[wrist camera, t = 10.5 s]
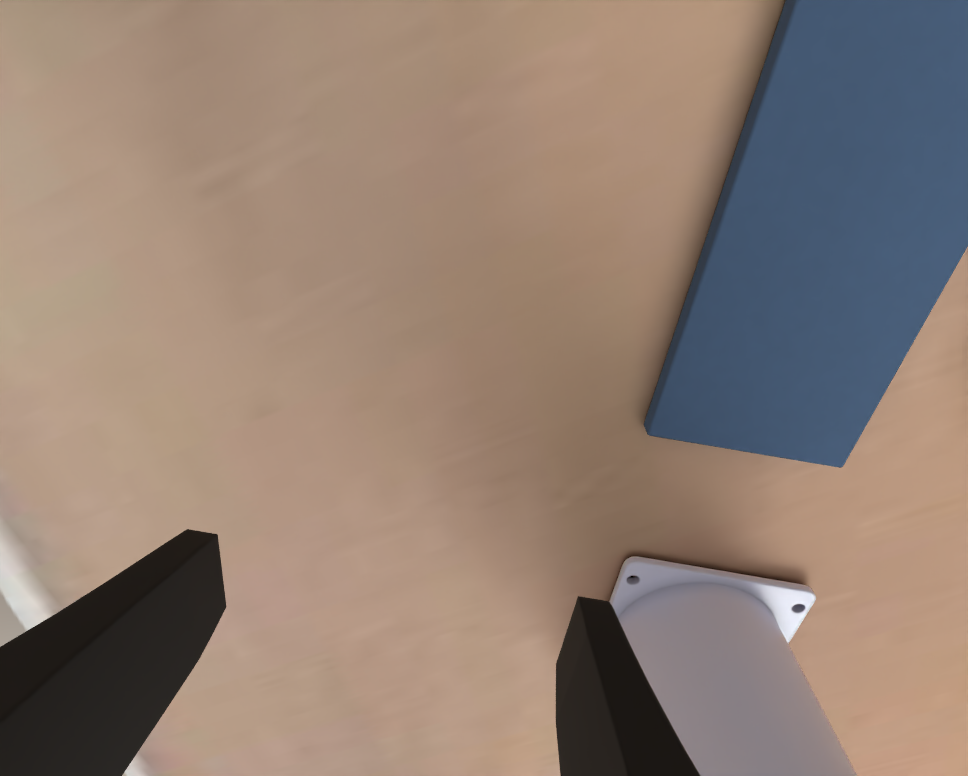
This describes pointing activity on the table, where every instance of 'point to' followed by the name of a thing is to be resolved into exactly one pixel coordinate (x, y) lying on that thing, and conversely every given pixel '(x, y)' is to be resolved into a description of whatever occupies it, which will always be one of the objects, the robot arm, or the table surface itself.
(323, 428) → the table surface
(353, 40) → the table surface
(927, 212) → the blue flat rectangular slab
